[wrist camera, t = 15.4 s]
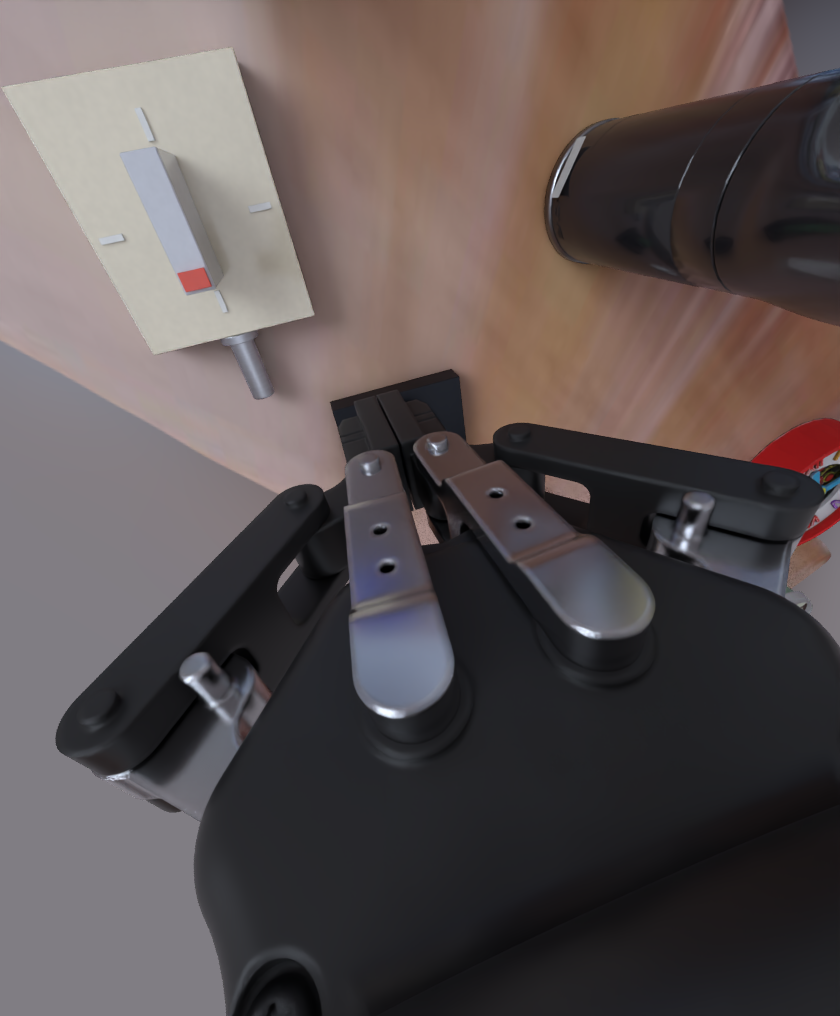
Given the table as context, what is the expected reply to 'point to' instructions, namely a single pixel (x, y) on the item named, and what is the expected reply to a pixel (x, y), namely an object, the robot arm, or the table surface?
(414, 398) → the button housing
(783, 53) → the table surface
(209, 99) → the block
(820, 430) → the toy clock
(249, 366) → the spout
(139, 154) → the pale grey rectangular block
